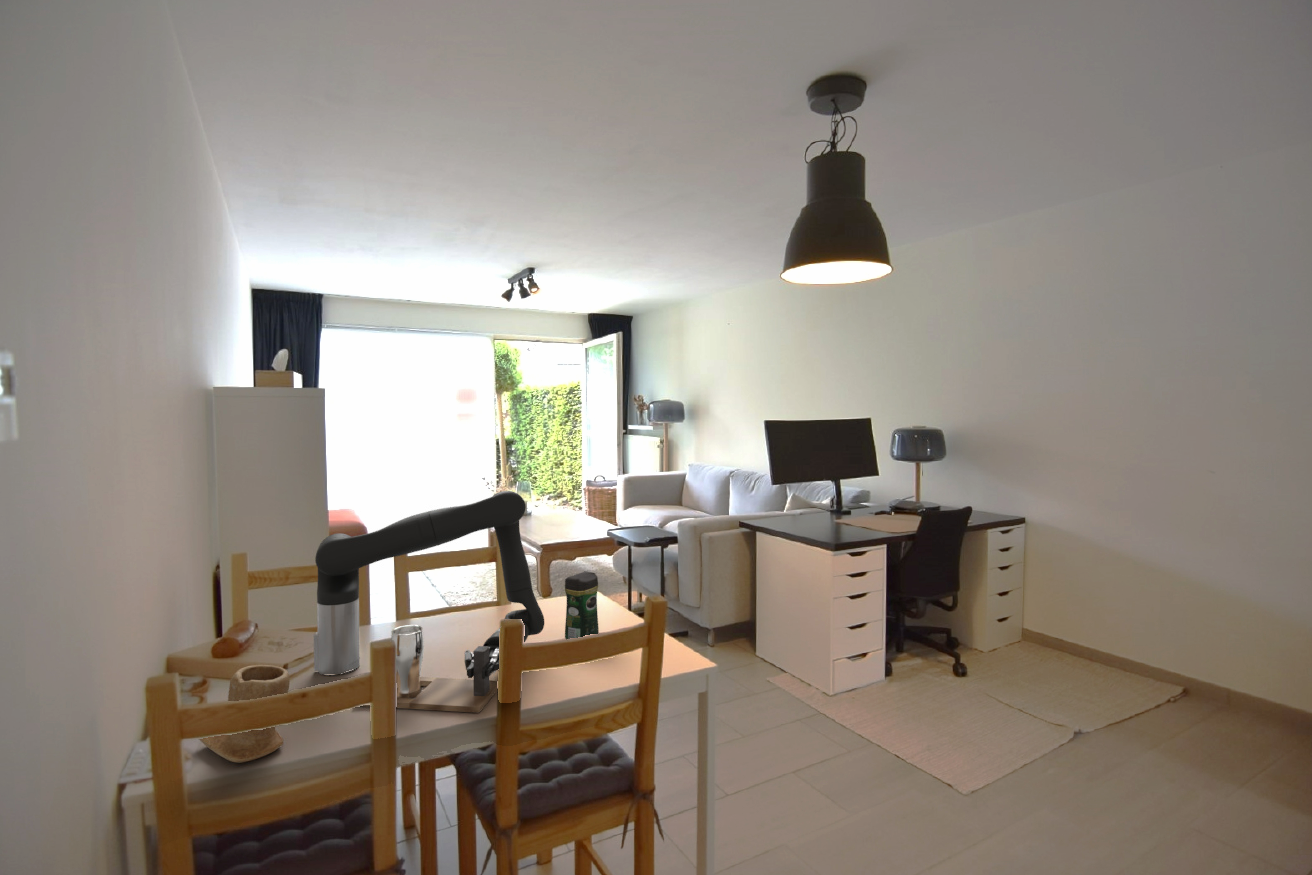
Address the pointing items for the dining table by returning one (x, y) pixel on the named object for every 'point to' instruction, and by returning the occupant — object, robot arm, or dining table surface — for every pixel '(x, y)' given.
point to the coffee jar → (581, 605)
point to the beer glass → (408, 659)
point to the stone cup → (246, 687)
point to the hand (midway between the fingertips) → (476, 674)
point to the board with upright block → (455, 690)
